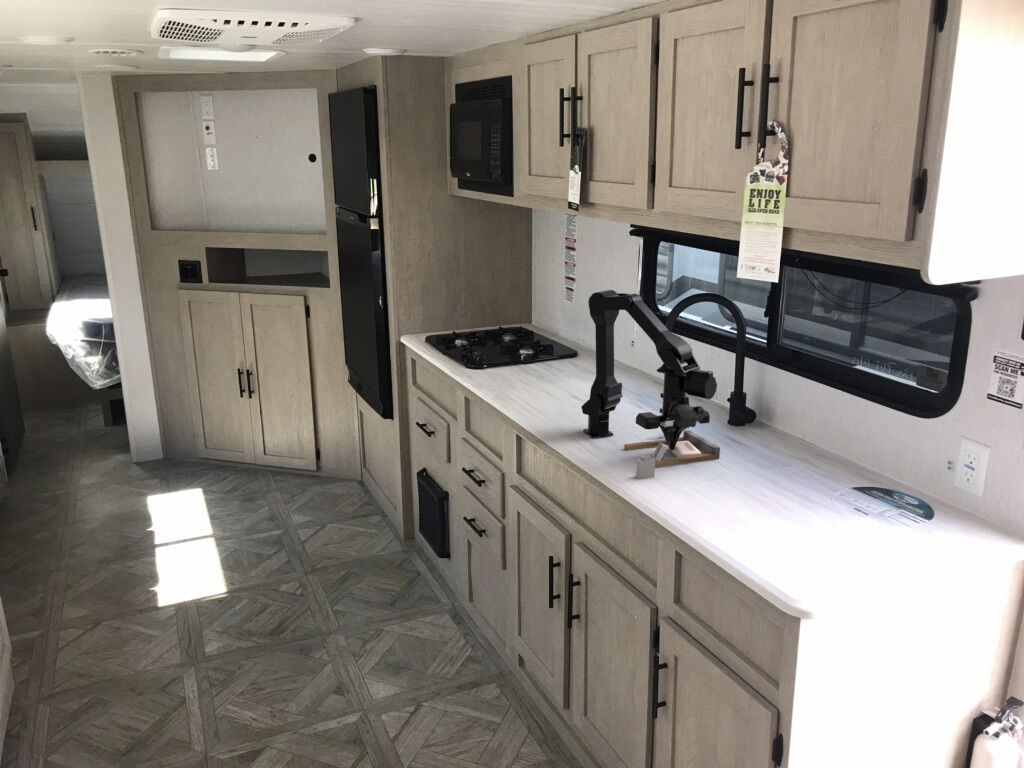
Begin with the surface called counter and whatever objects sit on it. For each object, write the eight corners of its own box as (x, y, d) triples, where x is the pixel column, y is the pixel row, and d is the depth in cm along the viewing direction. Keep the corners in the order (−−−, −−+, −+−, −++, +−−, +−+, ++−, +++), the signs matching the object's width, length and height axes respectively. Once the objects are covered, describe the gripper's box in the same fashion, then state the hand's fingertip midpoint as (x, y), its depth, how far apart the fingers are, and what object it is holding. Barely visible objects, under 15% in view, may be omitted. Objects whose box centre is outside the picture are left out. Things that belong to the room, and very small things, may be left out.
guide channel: (624, 448, 226) (624, 437, 225) (687, 440, 232) (688, 430, 232) (652, 467, 212) (653, 456, 212) (719, 458, 219) (720, 447, 218)
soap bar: (688, 448, 227) (688, 439, 227) (701, 460, 219) (701, 451, 218) (668, 450, 226) (669, 441, 226) (681, 462, 218) (681, 453, 217)
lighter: (638, 478, 205) (640, 446, 203) (635, 476, 207) (637, 444, 205) (665, 475, 208) (667, 444, 205) (662, 473, 209) (664, 441, 207)
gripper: (657, 403, 208) (654, 464, 212) (724, 396, 214) (719, 455, 218) (636, 391, 218) (633, 449, 222) (700, 385, 224) (696, 442, 228)
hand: (671, 449), depth 222 cm, fingers closed
